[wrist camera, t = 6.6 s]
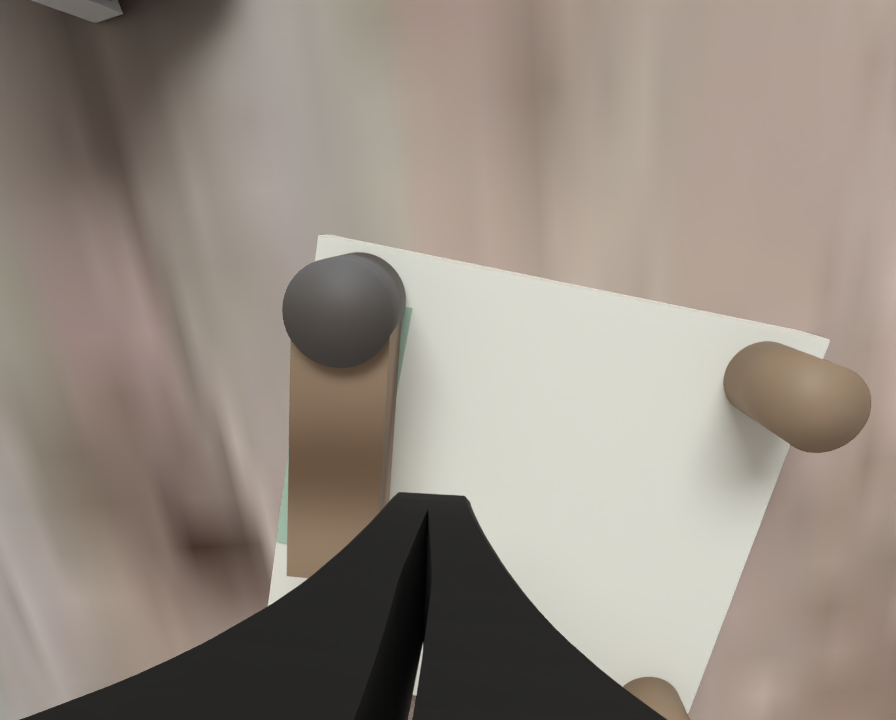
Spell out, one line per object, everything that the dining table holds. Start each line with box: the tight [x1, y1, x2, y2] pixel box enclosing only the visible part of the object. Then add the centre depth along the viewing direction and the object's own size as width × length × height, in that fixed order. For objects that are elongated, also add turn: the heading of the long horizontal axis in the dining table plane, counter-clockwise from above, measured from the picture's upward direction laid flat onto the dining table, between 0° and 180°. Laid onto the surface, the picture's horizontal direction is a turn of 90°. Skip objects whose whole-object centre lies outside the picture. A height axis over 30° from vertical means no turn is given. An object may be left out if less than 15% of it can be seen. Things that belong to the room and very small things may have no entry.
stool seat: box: [268, 235, 871, 720], centre depth 18 cm, size 16×16×4 cm
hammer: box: [282, 252, 406, 578], centre depth 16 cm, size 9×3×3 cm, turn 175°
